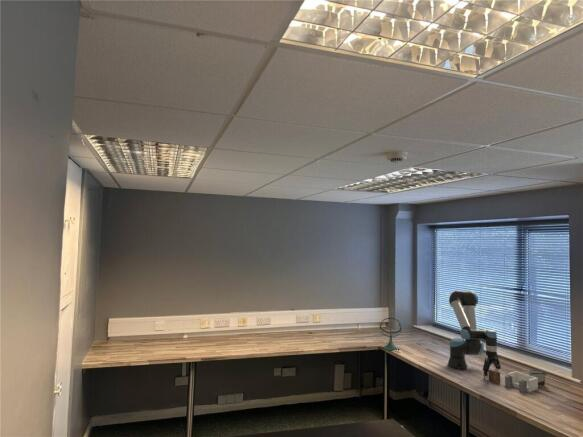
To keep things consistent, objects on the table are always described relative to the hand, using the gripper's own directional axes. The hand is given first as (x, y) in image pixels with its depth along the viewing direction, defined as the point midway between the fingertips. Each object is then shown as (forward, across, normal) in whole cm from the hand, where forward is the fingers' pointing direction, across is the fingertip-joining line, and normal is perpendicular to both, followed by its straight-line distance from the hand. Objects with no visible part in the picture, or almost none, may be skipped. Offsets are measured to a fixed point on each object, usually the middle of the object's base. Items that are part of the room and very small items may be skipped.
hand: (492, 378), depth 285 cm
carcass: (+2, +6, -18) cm, 19 cm away
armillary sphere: (+1, -7, +99) cm, 99 cm away
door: (+2, 0, 0) cm, 2 cm away
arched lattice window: (+2, +24, -20) cm, 31 cm away
